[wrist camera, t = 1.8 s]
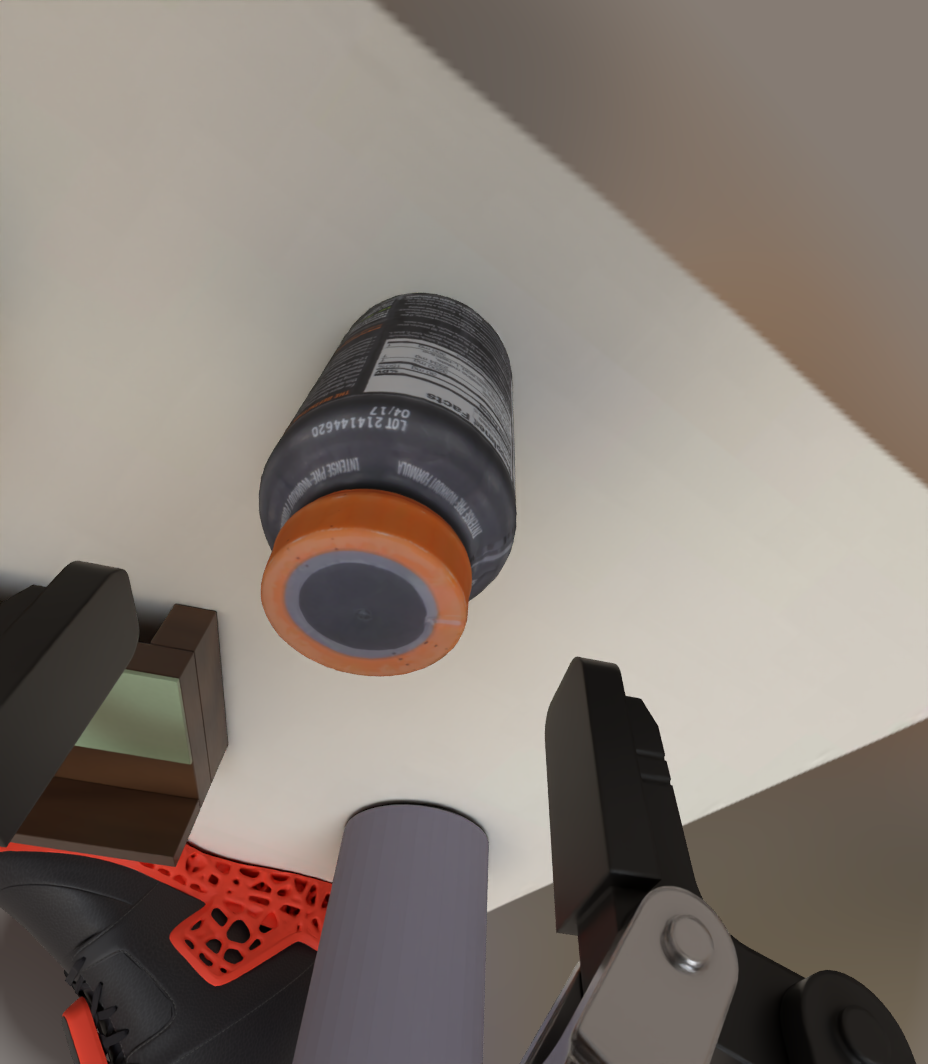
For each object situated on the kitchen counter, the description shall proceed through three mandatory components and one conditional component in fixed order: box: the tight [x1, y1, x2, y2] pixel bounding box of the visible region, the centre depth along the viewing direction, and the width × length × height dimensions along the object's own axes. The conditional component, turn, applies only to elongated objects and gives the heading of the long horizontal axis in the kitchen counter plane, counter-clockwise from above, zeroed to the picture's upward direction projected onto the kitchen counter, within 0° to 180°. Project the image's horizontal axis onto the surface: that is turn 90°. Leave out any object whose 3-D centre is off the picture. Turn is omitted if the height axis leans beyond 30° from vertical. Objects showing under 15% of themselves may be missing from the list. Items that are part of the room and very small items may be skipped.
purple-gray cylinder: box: [292, 804, 489, 1064], centre depth 35 cm, size 10×10×15 cm
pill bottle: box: [259, 293, 517, 676], centre depth 15 cm, size 6×6×11 cm
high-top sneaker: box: [0, 842, 332, 1064], centre depth 39 cm, size 30×12×20 cm, turn 59°
